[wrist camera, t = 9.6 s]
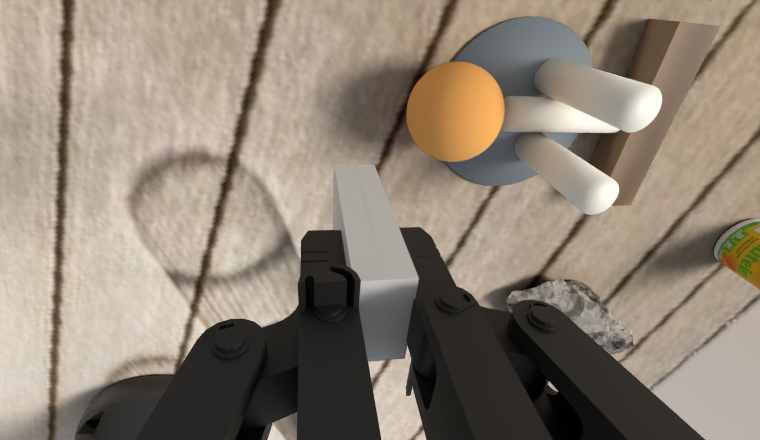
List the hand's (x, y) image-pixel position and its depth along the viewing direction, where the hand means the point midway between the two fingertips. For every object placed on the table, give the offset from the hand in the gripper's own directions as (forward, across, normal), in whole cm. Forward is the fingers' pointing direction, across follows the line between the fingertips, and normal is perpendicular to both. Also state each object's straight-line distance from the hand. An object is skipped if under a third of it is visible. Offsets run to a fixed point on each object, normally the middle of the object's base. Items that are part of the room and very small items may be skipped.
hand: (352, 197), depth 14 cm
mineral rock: (+13, +24, -20) cm, 34 cm away
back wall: (+12, +22, 0) cm, 26 cm away
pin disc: (+13, +13, 0) cm, 18 cm away
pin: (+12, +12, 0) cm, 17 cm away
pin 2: (+13, +15, -2) cm, 20 cm away
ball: (+10, +7, +1) cm, 12 cm away
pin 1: (+13, +15, +3) cm, 20 cm away
